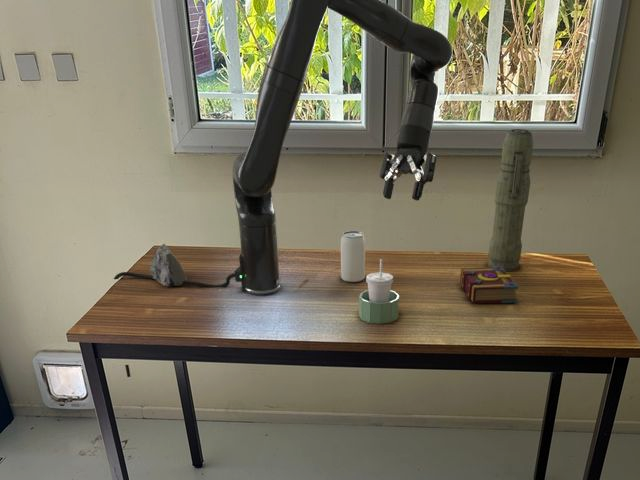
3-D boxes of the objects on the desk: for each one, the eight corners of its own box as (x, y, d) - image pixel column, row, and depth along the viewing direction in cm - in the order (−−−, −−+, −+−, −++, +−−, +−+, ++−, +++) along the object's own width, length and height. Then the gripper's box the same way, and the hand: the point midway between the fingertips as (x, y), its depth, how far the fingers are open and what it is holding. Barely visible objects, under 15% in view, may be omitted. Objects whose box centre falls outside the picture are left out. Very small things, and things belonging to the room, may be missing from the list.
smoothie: (373, 322, 165) (374, 264, 157) (360, 313, 170) (361, 256, 162) (396, 317, 167) (399, 260, 159) (383, 308, 172) (385, 252, 164)
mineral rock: (153, 272, 194) (147, 235, 188) (192, 271, 195) (187, 234, 189) (145, 288, 184) (138, 250, 178) (186, 287, 184) (180, 249, 178)
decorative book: (471, 305, 173) (473, 285, 171) (457, 282, 187) (459, 264, 184) (516, 303, 174) (519, 284, 171) (499, 281, 187) (501, 262, 185)
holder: (356, 321, 165) (356, 301, 163) (363, 306, 173) (363, 287, 170) (395, 324, 164) (395, 304, 161) (400, 309, 171) (401, 290, 169)
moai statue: (513, 258, 202) (531, 126, 182) (523, 272, 193) (543, 134, 173) (483, 259, 202) (497, 126, 182) (491, 273, 193) (507, 135, 173)
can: (364, 282, 187) (365, 237, 180) (340, 282, 187) (340, 237, 180) (364, 274, 192) (365, 230, 185) (341, 274, 192) (341, 230, 185)
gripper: (383, 123, 166) (368, 193, 169) (432, 121, 158) (416, 195, 161) (400, 135, 172) (386, 202, 175) (449, 134, 164) (433, 204, 167)
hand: (401, 198), depth 168 cm, fingers open, 8 cm apart
